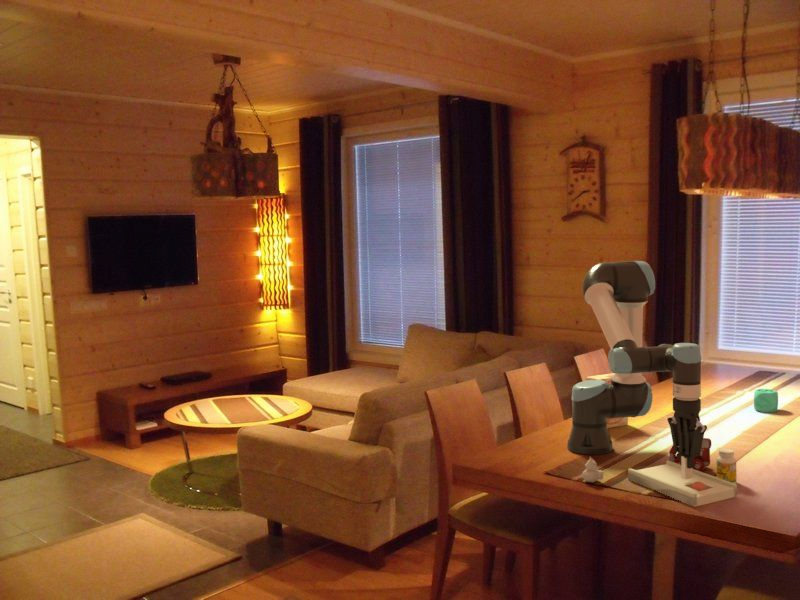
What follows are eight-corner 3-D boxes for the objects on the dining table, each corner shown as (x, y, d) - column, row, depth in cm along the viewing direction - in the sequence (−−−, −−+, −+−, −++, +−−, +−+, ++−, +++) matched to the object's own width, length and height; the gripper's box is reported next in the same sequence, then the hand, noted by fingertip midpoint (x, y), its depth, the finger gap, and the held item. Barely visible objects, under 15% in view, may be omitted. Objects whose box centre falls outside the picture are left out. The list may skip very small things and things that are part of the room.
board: (628, 480, 231) (628, 468, 230) (668, 471, 237) (668, 460, 237) (694, 507, 207) (693, 494, 207) (736, 496, 214) (736, 484, 213)
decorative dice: (775, 413, 302) (776, 393, 302) (753, 411, 307) (753, 392, 306) (778, 409, 309) (778, 389, 308) (756, 407, 313) (756, 388, 313)
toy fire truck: (672, 462, 246) (672, 431, 245) (713, 468, 239) (713, 435, 238) (667, 468, 240) (667, 436, 239) (709, 474, 233) (708, 441, 232)
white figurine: (585, 477, 234) (585, 452, 234) (606, 481, 231) (606, 455, 230) (579, 483, 230) (579, 457, 229) (601, 486, 226) (600, 460, 226)
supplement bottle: (740, 483, 224) (740, 451, 223) (727, 486, 222) (727, 454, 221) (725, 478, 229) (725, 447, 228) (712, 481, 227) (712, 449, 226)
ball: (689, 480, 216) (699, 486, 212) (699, 477, 217) (710, 484, 214) (687, 492, 217) (697, 499, 213) (697, 490, 218) (708, 497, 215)
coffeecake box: (597, 430, 287) (596, 379, 286) (585, 426, 294) (584, 376, 292) (628, 424, 293) (628, 375, 292) (616, 421, 300) (616, 372, 298)
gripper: (660, 395, 222) (660, 474, 224) (694, 403, 210) (694, 486, 212) (679, 392, 225) (679, 469, 227) (714, 400, 213) (714, 482, 215)
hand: (686, 478), depth 220 cm, fingers closed
